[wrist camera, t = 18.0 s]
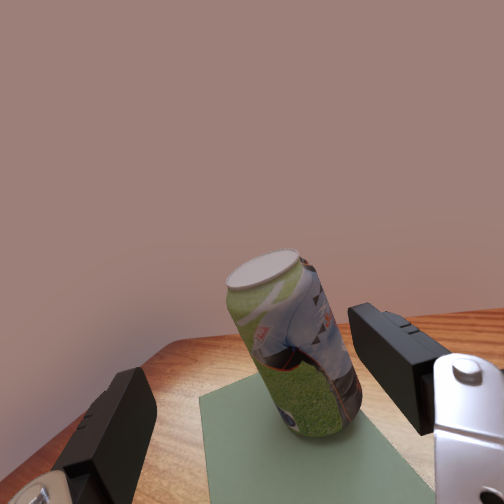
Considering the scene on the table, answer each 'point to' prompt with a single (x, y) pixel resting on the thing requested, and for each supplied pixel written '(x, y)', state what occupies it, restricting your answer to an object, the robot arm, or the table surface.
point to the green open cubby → (297, 456)
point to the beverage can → (294, 342)
